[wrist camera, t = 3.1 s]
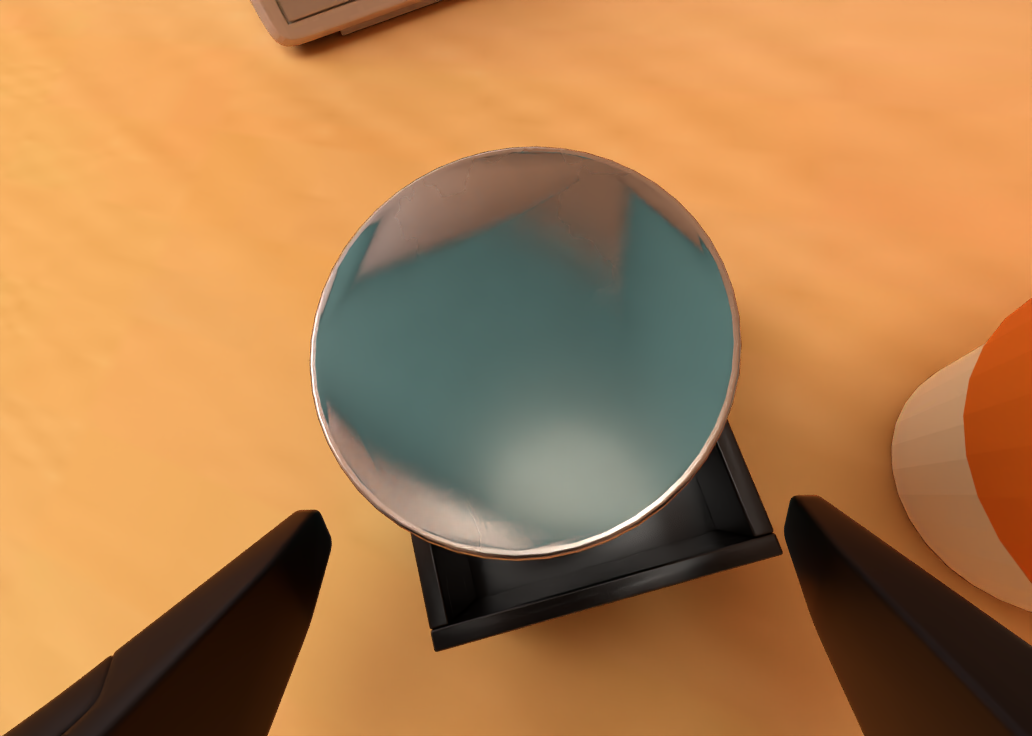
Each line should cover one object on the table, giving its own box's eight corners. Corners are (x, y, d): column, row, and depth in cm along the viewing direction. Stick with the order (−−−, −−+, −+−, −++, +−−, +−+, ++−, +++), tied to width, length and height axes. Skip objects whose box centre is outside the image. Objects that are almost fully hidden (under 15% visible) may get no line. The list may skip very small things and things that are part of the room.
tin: (663, 495, 18) (827, 481, 6) (501, 542, 18) (345, 619, 6) (608, 341, 20) (648, 93, 8) (461, 386, 20) (282, 215, 8)
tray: (735, 541, 18) (785, 554, 13) (469, 617, 18) (434, 653, 14) (634, 284, 21) (647, 227, 16) (410, 354, 21) (366, 317, 17)
